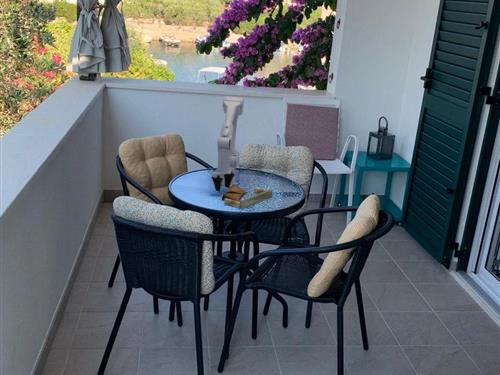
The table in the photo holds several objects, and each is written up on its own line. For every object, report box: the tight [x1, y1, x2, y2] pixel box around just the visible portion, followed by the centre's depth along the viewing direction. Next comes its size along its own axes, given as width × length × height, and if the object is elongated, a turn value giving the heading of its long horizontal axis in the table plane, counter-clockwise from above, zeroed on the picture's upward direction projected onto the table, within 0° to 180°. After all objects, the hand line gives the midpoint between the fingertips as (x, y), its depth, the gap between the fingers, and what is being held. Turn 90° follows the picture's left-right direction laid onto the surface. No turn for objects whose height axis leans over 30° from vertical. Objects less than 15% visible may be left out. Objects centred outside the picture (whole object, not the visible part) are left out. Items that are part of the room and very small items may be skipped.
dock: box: [223, 187, 274, 210], centre depth 266 cm, size 10×25×4 cm, turn 146°
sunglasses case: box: [221, 184, 248, 202], centre depth 271 cm, size 18×7×7 cm
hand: (222, 189), depth 274 cm, fingers open, 7 cm apart
